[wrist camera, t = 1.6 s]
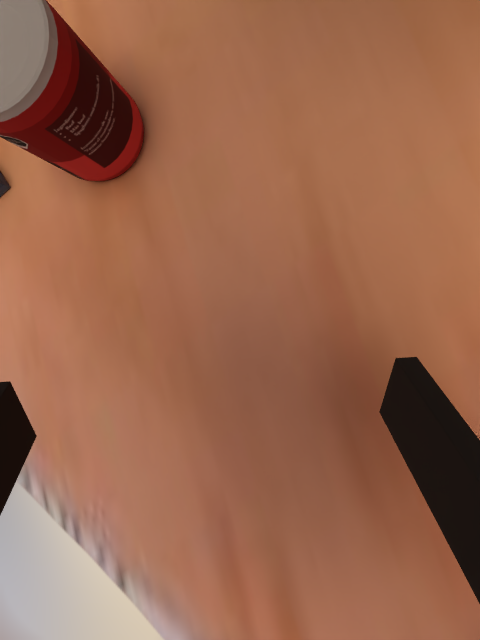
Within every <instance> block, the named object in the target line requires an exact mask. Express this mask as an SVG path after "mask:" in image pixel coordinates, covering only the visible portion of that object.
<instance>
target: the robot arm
mask: <svg viewBox="0 0 480 640" xmlns="http://www.w3.org/2000/svg"><path fill="white" fill-rule="evenodd" d="M380 414H381V416H382V418H383V420H384V422H385V424H386V425H387V427H388V429H389V431H390V433H391V435H392V437H393V439H394V441H395V443H396V445H397V446H398V448H399V450H400V452H401V454H402V456H403V458H404V460H405V462H406V464H407V466H408V468H409V469H410V471H411V473H412V475H413V477H414V479H415V481H416V483H417V485H418V487H419V489H420V491H421V492H422V494H423V496H424V498H425V500H426V502H427V504H428V506H429V508H430V510H431V512H432V513H433V515H434V517H435V519H436V521H437V523H438V525H439V527H440V529H441V531H442V533H443V535H444V536H445V538H446V540H447V542H448V544H449V546H450V548H451V550H452V552H453V554H454V556H455V558H456V559H457V561H458V563H459V565H460V567H461V569H462V571H463V573H464V575H465V577H466V579H467V580H468V582H469V584H470V586H471V588H472V590H473V592H474V594H475V596H476V598H477V600H478V602H479V603H480V440H479V439H478V438H477V436H476V435H475V434H474V432H473V431H472V430H471V428H470V427H469V426H468V424H467V423H466V422H465V420H464V419H463V418H462V417H461V415H460V414H459V413H458V411H457V410H456V409H455V407H454V406H453V405H452V403H451V402H450V401H449V399H448V398H447V397H446V395H445V394H444V393H443V391H442V390H441V389H440V387H439V386H438V385H437V383H436V382H435V381H434V379H433V378H432V377H431V375H430V374H429V373H428V371H427V370H426V369H425V368H424V366H423V365H422V364H421V362H420V361H419V360H418V358H417V357H409V358H396V359H395V362H394V366H393V369H392V372H391V375H390V379H389V382H388V385H387V389H386V392H385V395H384V399H383V402H382V405H381V409H380ZM35 438H36V434H35V432H34V430H33V428H32V426H31V423H30V421H29V419H28V417H27V415H26V413H25V411H24V409H23V407H22V405H21V403H20V401H19V399H18V397H17V395H16V393H15V391H14V388H13V386H12V384H11V382H0V515H1V512H2V510H3V508H4V506H5V504H6V502H7V499H8V497H9V495H10V493H11V491H12V488H13V486H14V484H15V482H16V480H17V478H18V476H19V473H20V471H21V469H22V467H23V465H24V462H25V460H26V458H27V456H28V454H29V452H30V449H31V447H32V445H33V443H34V441H35Z"/></svg>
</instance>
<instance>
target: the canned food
mask: <svg viewBox="0 0 480 640" xmlns="http://www.w3.org/2000/svg"><path fill="white" fill-rule="evenodd" d="M0 137H2V138H3V139H5V140H7V141H9V142H11V143H13V144H15V145H17V146H19V147H21V148H22V149H24V150H26V151H28V152H30V153H32V154H34V155H36V156H38V157H39V158H41V159H43V160H45V161H47V162H49V163H51V164H53V165H55V166H57V167H58V168H60V169H62V170H64V171H66V172H68V173H70V174H72V175H74V176H75V177H77V178H80V179H84V180H90V181H105V180H110V179H113V178H116V177H118V176H119V175H121V174H123V173H124V172H125V171H126V170H128V169H129V168H130V167H131V166H132V164H133V163H134V162H135V160H136V159H137V157H138V155H139V153H140V151H141V147H142V144H143V137H144V129H143V122H142V119H141V115H140V112H139V109H138V107H137V105H136V103H135V102H134V100H133V99H132V98H131V96H130V95H129V94H128V93H127V92H126V91H125V89H124V88H123V87H122V86H121V85H120V84H119V83H118V81H117V80H116V79H115V78H114V77H113V76H112V75H111V73H110V72H109V71H108V70H107V69H106V68H105V67H104V65H103V64H102V63H101V62H100V61H99V60H98V59H97V57H96V56H95V55H94V54H93V53H92V52H91V50H90V49H89V48H88V47H87V46H86V45H85V44H84V42H83V41H82V40H81V39H80V38H79V37H78V36H77V34H76V33H75V32H74V31H73V30H72V29H71V28H70V26H69V25H68V24H67V23H66V22H65V21H64V20H63V18H62V17H61V16H60V15H59V14H58V13H57V11H56V10H55V9H54V8H53V7H52V6H51V5H50V4H49V3H48V2H47V1H46V0H0Z"/></svg>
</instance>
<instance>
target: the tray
mask: <svg viewBox="0 0 480 640" xmlns="http://www.w3.org/2000/svg"><path fill="white" fill-rule="evenodd" d="M9 188H10V186H9V184H8V183H7V181H6V179H5V178H4V176H3V175H2V173H1V172H0V197H1V196H2V195H3V194H4V193H5V192H6V191H7V190H8V189H9Z"/></svg>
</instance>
